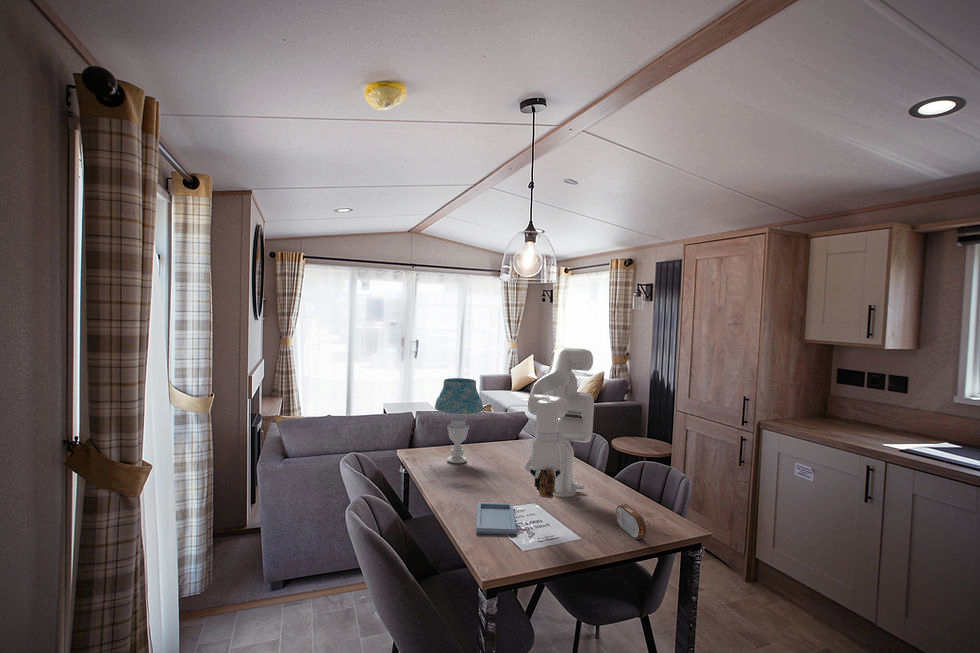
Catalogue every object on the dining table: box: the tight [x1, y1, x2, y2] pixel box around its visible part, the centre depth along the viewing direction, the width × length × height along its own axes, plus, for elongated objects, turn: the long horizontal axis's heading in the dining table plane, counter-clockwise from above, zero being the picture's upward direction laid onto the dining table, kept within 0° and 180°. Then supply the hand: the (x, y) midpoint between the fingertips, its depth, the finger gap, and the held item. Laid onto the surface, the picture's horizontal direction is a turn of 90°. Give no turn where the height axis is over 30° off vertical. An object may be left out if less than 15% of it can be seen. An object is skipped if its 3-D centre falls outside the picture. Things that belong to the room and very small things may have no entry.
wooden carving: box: [538, 470, 555, 499], centre depth 159 cm, size 16×5×10 cm, turn 13°
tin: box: [615, 503, 647, 540], centre depth 159 cm, size 15×3×8 cm, turn 16°
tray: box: [475, 501, 517, 536], centre depth 165 cm, size 13×21×2 cm, turn 0°
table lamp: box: [434, 377, 484, 464], centre depth 230 cm, size 24×24×40 cm
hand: (544, 488), depth 159 cm, fingers closed on wooden carving, 4 cm apart
